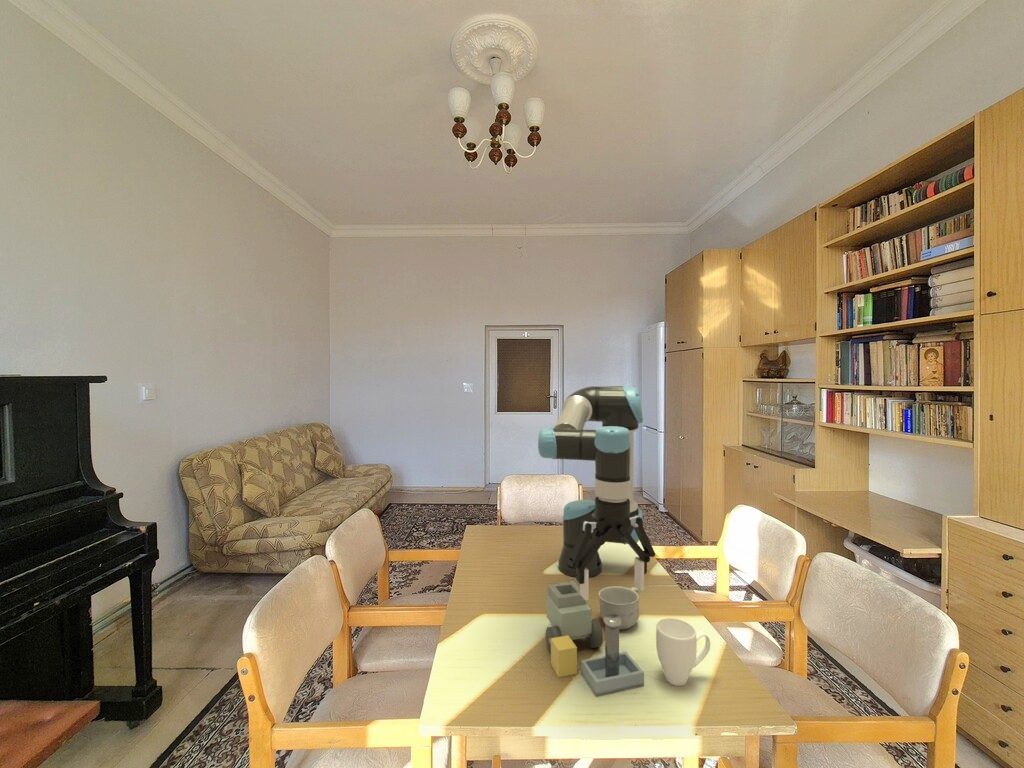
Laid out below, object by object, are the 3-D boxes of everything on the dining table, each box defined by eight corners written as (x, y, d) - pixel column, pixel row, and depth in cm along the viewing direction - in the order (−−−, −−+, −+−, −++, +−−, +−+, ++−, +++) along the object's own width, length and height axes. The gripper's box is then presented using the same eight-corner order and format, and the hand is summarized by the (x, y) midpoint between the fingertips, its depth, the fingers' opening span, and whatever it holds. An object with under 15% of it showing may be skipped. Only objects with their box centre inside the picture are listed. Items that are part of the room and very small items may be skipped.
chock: (568, 660, 102) (568, 635, 102) (576, 673, 97) (576, 647, 97) (550, 663, 101) (550, 638, 101) (558, 677, 96) (558, 650, 96)
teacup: (616, 638, 111) (616, 607, 110) (590, 618, 120) (590, 589, 120) (656, 624, 117) (656, 595, 117) (628, 606, 127) (628, 579, 127)
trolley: (582, 626, 116) (582, 579, 116) (602, 651, 105) (603, 600, 105) (538, 633, 113) (538, 585, 113) (554, 661, 102) (554, 608, 102)
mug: (667, 694, 91) (667, 640, 91) (649, 668, 99) (649, 618, 99) (720, 689, 92) (720, 636, 92) (698, 664, 101) (699, 615, 101)
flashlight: (615, 669, 98) (615, 612, 98) (624, 681, 94) (624, 621, 94) (600, 673, 97) (600, 615, 97) (608, 684, 93) (608, 624, 93)
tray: (625, 664, 101) (625, 651, 101) (644, 685, 93) (644, 672, 93) (581, 673, 97) (581, 660, 97) (596, 696, 90) (596, 682, 90)
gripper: (651, 488, 102) (651, 576, 103) (553, 497, 95) (553, 592, 96) (671, 497, 95) (671, 592, 96) (566, 508, 88) (566, 610, 89)
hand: (612, 592), depth 96 cm, fingers open, 13 cm apart
